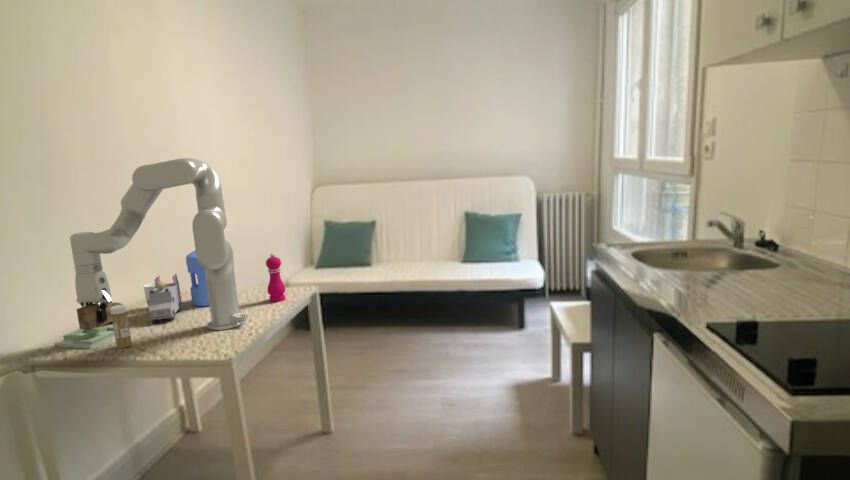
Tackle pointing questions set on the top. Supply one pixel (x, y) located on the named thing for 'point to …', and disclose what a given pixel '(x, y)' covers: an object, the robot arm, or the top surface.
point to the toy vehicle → (164, 300)
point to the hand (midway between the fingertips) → (97, 320)
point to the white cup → (147, 290)
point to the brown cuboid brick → (91, 316)
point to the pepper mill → (275, 279)
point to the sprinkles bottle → (121, 326)
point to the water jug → (200, 289)
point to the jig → (87, 338)
